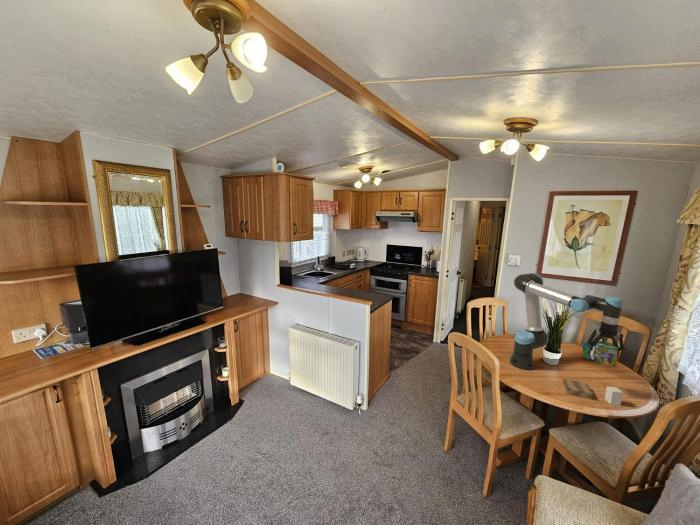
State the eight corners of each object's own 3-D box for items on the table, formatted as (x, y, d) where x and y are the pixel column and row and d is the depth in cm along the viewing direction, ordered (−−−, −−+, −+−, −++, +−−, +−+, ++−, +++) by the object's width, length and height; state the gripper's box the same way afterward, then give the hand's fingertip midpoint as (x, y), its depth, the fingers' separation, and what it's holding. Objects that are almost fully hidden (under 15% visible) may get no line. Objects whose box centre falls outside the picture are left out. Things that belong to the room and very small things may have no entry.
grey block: (610, 404, 165) (612, 391, 163) (604, 398, 170) (606, 386, 168) (620, 405, 164) (622, 392, 162) (614, 399, 169) (616, 387, 167)
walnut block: (566, 394, 174) (567, 388, 173) (562, 384, 184) (563, 378, 184) (592, 400, 169) (593, 394, 168) (586, 389, 179) (587, 383, 178)
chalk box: (615, 366, 170) (620, 343, 167) (597, 364, 172) (601, 341, 169) (606, 359, 179) (611, 336, 176) (589, 356, 181) (593, 334, 178)
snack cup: (591, 363, 210) (593, 350, 208) (575, 357, 219) (577, 344, 218) (603, 359, 216) (605, 347, 214) (587, 353, 225) (589, 341, 224)
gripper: (587, 321, 172) (581, 355, 176) (637, 328, 163) (629, 365, 167) (584, 317, 179) (578, 350, 183) (631, 324, 169) (624, 359, 173)
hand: (602, 357), depth 175 cm, fingers closed on chalk box, 10 cm apart
